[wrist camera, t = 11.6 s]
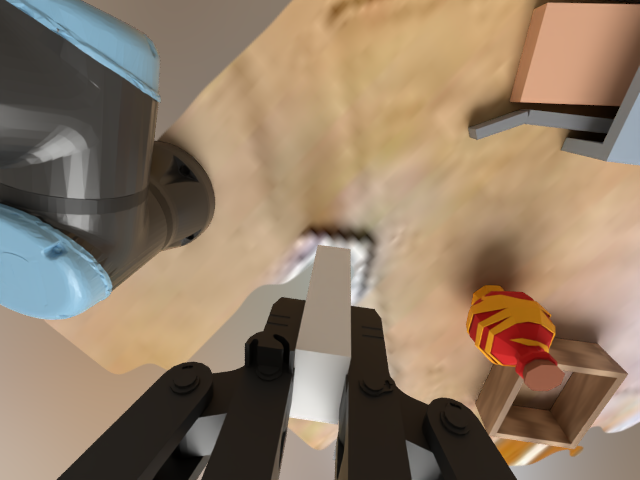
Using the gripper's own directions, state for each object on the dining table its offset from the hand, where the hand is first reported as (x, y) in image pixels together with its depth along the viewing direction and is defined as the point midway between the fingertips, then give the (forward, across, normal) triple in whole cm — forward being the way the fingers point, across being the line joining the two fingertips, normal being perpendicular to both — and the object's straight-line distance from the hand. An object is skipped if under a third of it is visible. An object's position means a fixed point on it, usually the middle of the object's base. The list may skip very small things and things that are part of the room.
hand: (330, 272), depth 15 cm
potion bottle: (+30, +25, -18) cm, 43 cm away
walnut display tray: (+29, +37, -32) cm, 57 cm away
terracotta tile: (+30, +24, +14) cm, 41 cm away
